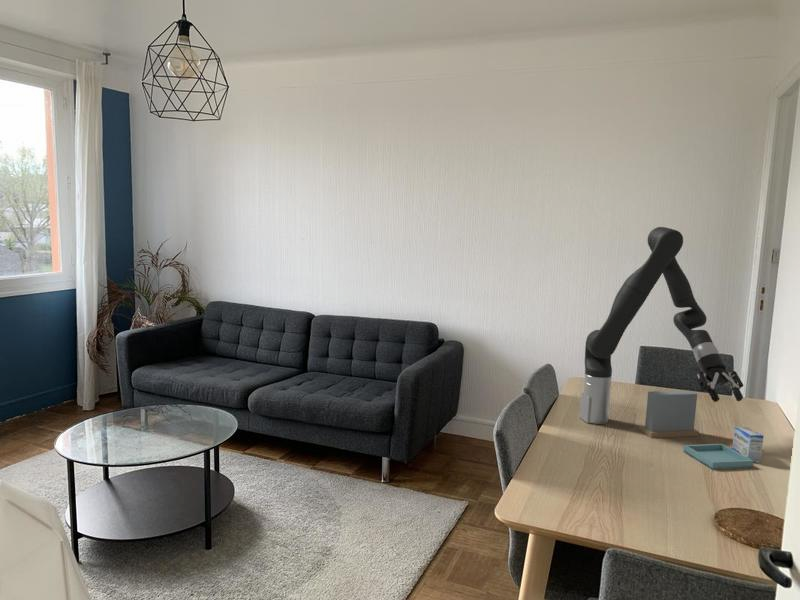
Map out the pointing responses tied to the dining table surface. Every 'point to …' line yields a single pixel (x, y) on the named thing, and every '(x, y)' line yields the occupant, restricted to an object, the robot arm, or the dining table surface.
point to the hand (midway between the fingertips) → (728, 400)
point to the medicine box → (748, 443)
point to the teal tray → (718, 456)
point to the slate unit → (670, 414)
